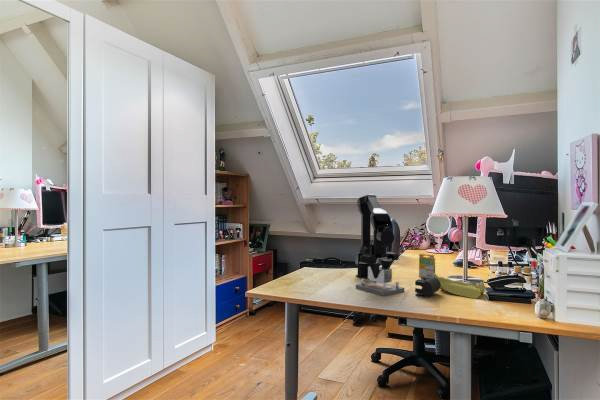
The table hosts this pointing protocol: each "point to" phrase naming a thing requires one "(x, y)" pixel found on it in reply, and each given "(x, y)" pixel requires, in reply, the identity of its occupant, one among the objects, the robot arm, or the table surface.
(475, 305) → the table surface
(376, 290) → the tray
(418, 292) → the end cap
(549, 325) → the table surface
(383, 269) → the drive
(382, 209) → the robot arm
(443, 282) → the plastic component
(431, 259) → the crayon box
